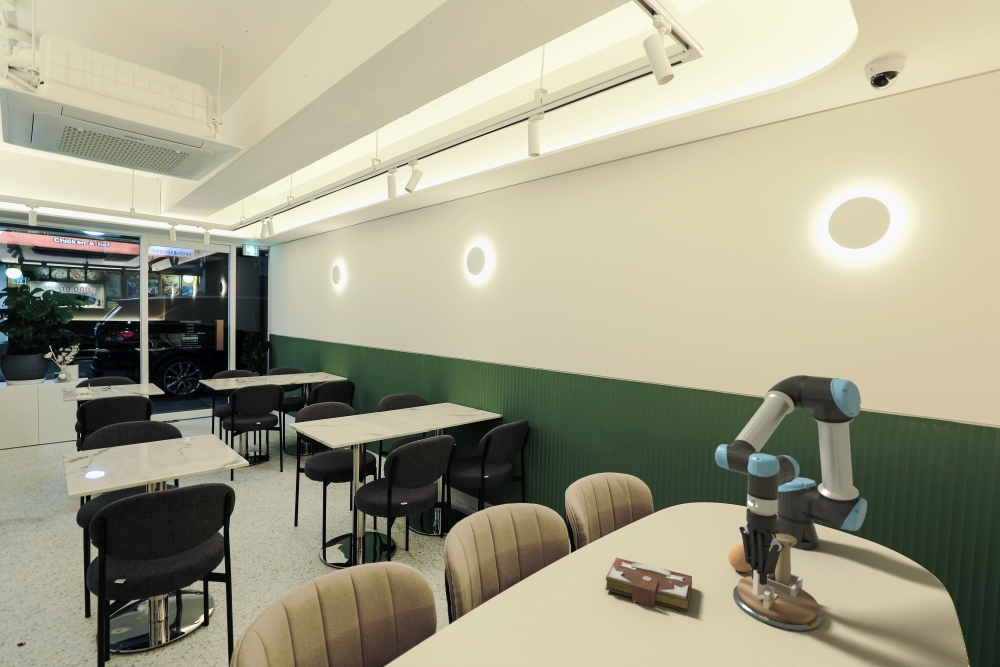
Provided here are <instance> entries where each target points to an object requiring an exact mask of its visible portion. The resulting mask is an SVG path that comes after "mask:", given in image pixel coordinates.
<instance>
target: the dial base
mask: <svg viewBox="0 0 1000 667" xmlns="http://www.w3.org/2000/svg"><path fill="white" fill-rule="evenodd" d="M732 593H733V596H732V597H733V601H734V603H735V604H736V605H737V607H738V608H739V609H740V610H742V611H743V612H744V613H745V614H746V615H748V616H750V617H751V618H753V619H755V620H757V621H759V622H760V623H763V624H765V625H767V626H770V627H773V628H776V629H780V630H785V631H789V632H790V631H791V632H799V633H800V632H801V633H802V632H805V633H806V632H811V631H815V630H818V629H819V628H820V627H821V626H822V625H823V617H824V616H823V615H824V614H823V613H822V611H821V609H820V608H819V609H818V618H817V619H816V620H815V621H814V622H812V623H808V624H789V623H784V622H779V621H776V620H773V619H770V618H768V617H765V616H763V615H761V614H758V613H756V612H755V611H753V610H751V609H750V608H748V607H747V606H746V605H745V604H744V603H743V602H742V601H741V600H740V599H739V597H738V594H737V585H736V586H735V587H734V589H733V592H732Z"/></svg>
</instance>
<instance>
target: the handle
mask: <svg viewBox="0 0 1000 667" xmlns="http://www.w3.org/2000/svg"><path fill="white" fill-rule="evenodd" d="M776 540H777V541H778V542H779V544H783V545H784V548H783V549H782V550H781V551H780V555H779V558H778V562H777V565H776V569H775V578H776V581H777V582H778V583H781V584H784V585H786V586H789V583H790V577H791V574H792V573H791V572H792V565H791V564H792V562H791V560H792V559H791V548H792V547H791V546H794V545H795V544H796V543H797V539H796V538H795V537H793V536H791V535H787V534H776Z"/></svg>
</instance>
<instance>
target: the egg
mask: <svg viewBox="0 0 1000 667" xmlns="http://www.w3.org/2000/svg"><path fill="white" fill-rule="evenodd" d="M728 561H729V564H730V566H732V568H733V569H734V570H736V571H737V572H740V573H746V572H749V571H750V570H752V568H751V565H750V564H747V563H746V560H745V553H744V546H743V544H742V543H739V544H734V545H733V546H732V547H731V548H730V550H729V552H728Z"/></svg>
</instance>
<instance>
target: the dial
mask: <svg viewBox="0 0 1000 667" xmlns="http://www.w3.org/2000/svg"><path fill="white" fill-rule="evenodd" d="M736 586H737V594H738V597H739V599H740V600H741V601H742V602H743V603H744V604H745V605H746V606H747V607H748V608H750V609H751V610H753V611H755V612H756V613H758V614H761V615H763V616H765V617H768V618H770V619H773V620H776V621H779V622H784V623H789V624H808V623H812V622H814V621H815V620H816V619H817V618H818V609H820V607H819V603H818V601H817V600H816V599H815V597H814V596H812V595H811V594H810V593H809V592H807V591H806V590H805V589H803V577H802V576H799V575H796V574H793V573H791V577H790V583H789V586H786V585H784V584H781V583H778V582H777V581H776V578H775V572H774V573H773V574H768V575H767V584H766V585H765V592H764V594H763V595H758V596H757V595H755V594H754V593H753V579H752V575H750V576H746V577H743V578H741V579H740V580H738V582H737V585H736Z"/></svg>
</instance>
